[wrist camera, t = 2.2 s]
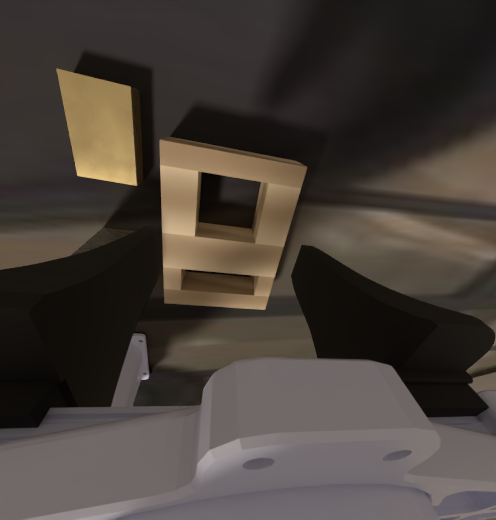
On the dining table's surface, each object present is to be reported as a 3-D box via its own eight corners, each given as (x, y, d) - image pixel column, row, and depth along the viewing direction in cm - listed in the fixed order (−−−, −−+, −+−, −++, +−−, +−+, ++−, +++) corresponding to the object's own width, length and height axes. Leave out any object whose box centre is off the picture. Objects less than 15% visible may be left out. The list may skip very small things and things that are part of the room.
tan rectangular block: (145, 179, 18) (136, 185, 16) (91, 170, 17) (77, 175, 16) (141, 90, 15) (130, 86, 13) (76, 74, 14) (56, 68, 13)
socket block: (260, 290, 25) (264, 309, 23) (170, 283, 24) (164, 303, 21) (295, 160, 18) (307, 167, 15) (169, 136, 16) (159, 139, 14)
